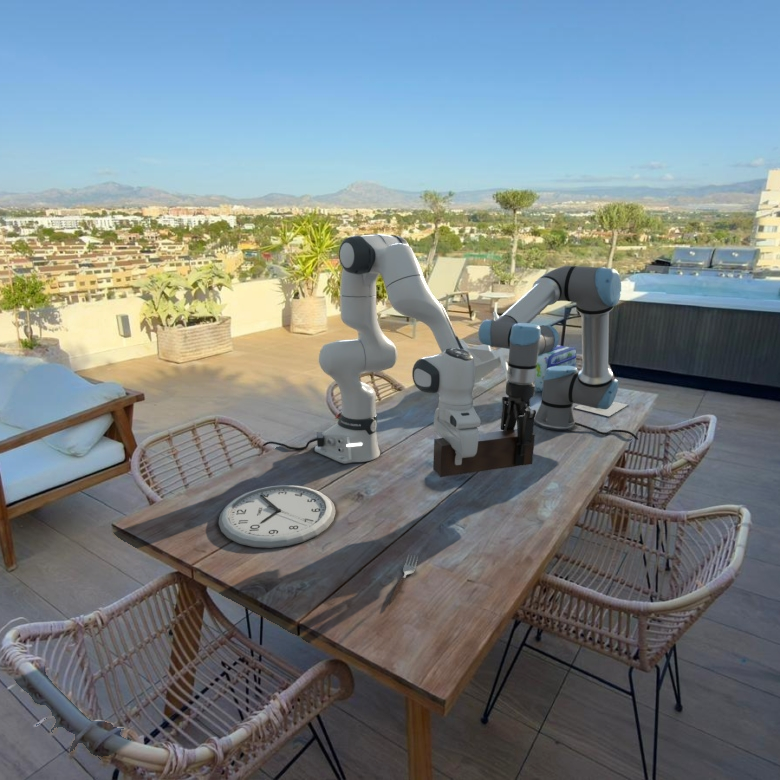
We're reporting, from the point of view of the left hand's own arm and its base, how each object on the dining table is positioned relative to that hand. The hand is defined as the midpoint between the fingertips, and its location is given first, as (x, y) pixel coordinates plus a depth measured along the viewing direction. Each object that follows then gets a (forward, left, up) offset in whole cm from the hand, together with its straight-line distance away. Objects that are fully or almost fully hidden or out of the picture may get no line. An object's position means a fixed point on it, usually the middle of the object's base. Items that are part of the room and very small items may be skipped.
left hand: (452, 459), depth 141 cm
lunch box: (-3, +123, -13) cm, 124 cm away
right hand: (+13, +14, -3) cm, 19 cm away
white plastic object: (-31, +101, -13) cm, 107 cm away
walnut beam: (+6, +7, -4) cm, 10 cm away
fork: (+6, -37, -13) cm, 40 cm away
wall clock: (-36, -30, -13) cm, 49 cm away
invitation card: (+21, +111, -13) cm, 114 cm away
